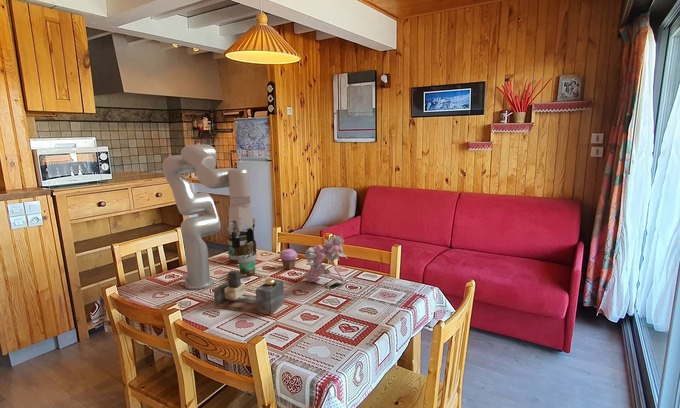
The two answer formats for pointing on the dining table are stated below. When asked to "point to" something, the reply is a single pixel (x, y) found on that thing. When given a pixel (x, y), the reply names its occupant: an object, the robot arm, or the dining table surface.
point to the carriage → (234, 286)
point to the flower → (317, 258)
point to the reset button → (269, 282)
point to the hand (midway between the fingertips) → (243, 244)
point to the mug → (243, 250)
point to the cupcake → (288, 258)
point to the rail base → (245, 306)
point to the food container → (247, 265)
